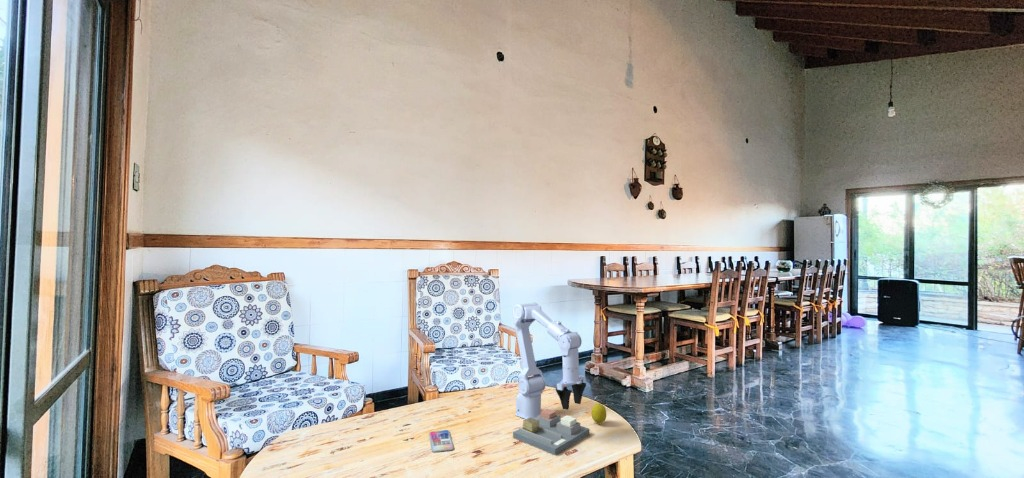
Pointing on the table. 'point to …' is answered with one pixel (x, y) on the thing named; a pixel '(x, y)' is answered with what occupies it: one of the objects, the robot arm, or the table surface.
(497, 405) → the table surface
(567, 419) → the cream button
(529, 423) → the slider knob
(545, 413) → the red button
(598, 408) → the lemon
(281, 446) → the table surface
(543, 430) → the panel
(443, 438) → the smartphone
